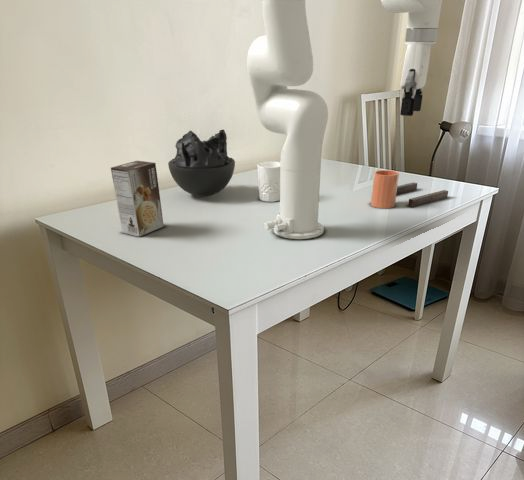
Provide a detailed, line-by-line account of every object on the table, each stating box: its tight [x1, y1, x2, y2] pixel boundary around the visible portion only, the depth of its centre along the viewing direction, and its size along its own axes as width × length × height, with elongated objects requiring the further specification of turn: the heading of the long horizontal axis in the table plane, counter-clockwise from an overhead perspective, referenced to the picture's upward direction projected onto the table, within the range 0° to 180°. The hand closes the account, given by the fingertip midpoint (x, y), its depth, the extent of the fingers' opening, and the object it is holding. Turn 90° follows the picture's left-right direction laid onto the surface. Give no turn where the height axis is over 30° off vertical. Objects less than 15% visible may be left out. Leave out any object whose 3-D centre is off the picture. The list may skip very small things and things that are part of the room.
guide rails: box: [396, 181, 449, 208], centre depth 149 cm, size 16×13×2 cm
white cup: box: [256, 161, 280, 203], centre depth 147 cm, size 8×8×10 cm
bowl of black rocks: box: [167, 129, 236, 197], centre depth 149 cm, size 20×20×19 cm
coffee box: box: [110, 160, 165, 237], centre depth 123 cm, size 9×6×16 cm
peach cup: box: [370, 169, 400, 209], centre depth 141 cm, size 7×7×9 cm
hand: (410, 113), depth 132 cm, fingers open, 9 cm apart
